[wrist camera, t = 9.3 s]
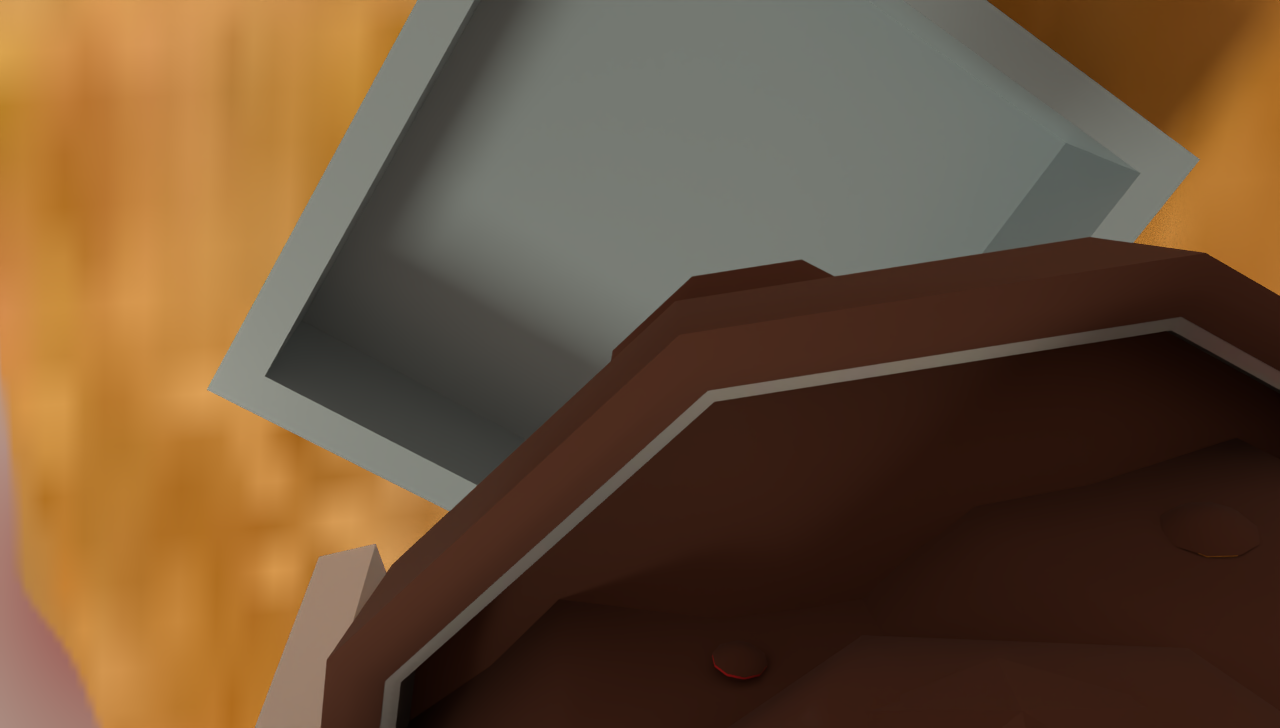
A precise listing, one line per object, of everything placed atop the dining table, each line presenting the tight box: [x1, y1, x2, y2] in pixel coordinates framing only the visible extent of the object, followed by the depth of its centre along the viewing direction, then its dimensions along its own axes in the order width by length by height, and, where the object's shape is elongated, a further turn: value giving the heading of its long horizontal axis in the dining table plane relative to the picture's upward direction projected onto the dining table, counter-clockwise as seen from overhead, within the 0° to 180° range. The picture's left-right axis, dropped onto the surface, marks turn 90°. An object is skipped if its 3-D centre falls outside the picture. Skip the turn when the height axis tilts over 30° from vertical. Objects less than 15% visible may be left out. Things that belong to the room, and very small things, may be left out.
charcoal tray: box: [207, 0, 1200, 511], centre depth 28 cm, size 17×17×5 cm
